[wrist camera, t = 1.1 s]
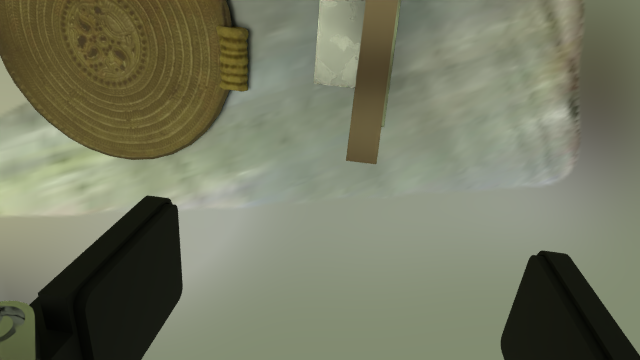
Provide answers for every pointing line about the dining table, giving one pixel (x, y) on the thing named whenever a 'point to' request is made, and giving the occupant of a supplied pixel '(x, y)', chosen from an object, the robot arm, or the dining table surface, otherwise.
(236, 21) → the dining table surface
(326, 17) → the frame post
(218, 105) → the decorative disc
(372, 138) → the picture frame
